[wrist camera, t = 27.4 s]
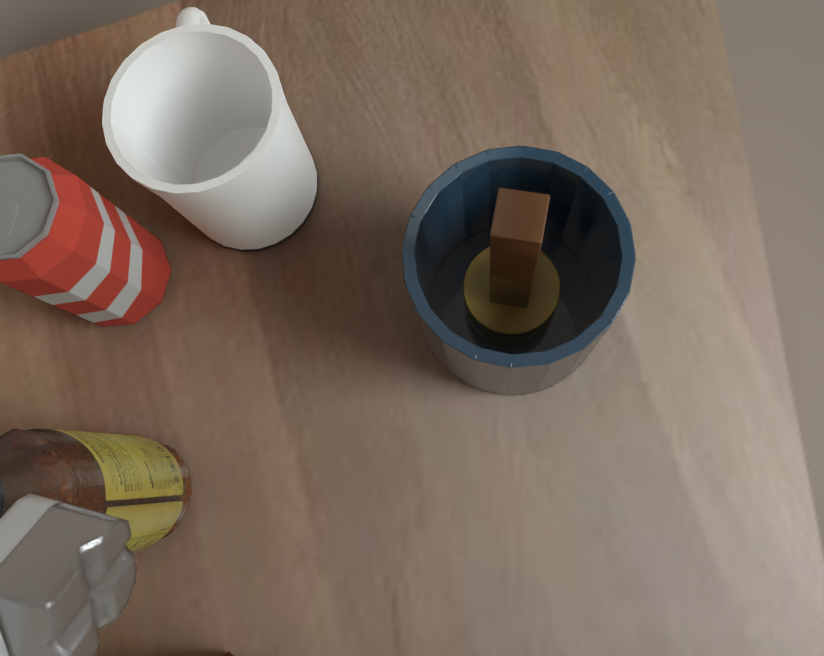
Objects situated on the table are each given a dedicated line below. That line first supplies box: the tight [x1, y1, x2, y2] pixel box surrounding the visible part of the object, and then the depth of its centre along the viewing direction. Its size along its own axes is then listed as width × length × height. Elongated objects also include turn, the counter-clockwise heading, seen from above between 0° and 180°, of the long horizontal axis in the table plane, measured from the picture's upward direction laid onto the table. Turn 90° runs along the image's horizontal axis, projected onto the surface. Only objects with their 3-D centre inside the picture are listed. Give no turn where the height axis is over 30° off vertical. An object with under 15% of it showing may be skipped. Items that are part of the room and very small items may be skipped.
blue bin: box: [402, 146, 636, 395], centre depth 39 cm, size 10×10×10 cm
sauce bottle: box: [0, 429, 191, 552], centre depth 34 cm, size 7×6×20 cm
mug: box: [102, 7, 318, 251], centre depth 42 cm, size 11×9×10 cm
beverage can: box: [0, 153, 171, 327], centre depth 40 cm, size 6×6×12 cm
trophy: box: [463, 188, 561, 347], centre depth 36 cm, size 5×5×14 cm
